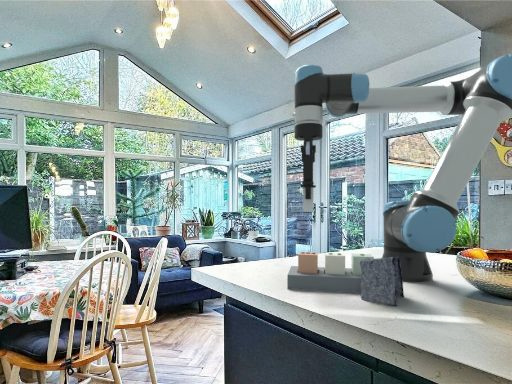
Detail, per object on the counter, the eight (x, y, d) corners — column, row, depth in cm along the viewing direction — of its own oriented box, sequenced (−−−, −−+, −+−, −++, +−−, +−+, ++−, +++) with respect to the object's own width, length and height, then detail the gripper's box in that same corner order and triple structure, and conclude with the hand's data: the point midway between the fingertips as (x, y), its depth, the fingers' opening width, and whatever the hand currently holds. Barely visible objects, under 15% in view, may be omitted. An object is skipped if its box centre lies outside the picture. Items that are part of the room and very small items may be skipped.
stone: (413, 311, 79) (404, 308, 71) (370, 312, 84) (356, 309, 76) (405, 259, 84) (396, 251, 76) (365, 263, 89) (351, 255, 81)
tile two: (343, 271, 94) (343, 252, 94) (345, 275, 89) (345, 255, 89) (325, 270, 95) (325, 251, 95) (325, 274, 90) (325, 254, 90)
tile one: (370, 272, 92) (370, 253, 93) (373, 276, 88) (373, 256, 88) (351, 272, 93) (351, 252, 94) (353, 276, 88) (353, 255, 89)
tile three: (317, 270, 95) (317, 251, 95) (317, 274, 90) (317, 254, 90) (299, 269, 96) (299, 250, 96) (298, 273, 91) (298, 253, 91)
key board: (378, 285, 95) (378, 269, 95) (386, 298, 84) (386, 279, 84) (291, 281, 100) (291, 266, 100) (287, 292, 88) (287, 274, 88)
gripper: (296, 130, 101) (296, 210, 101) (292, 119, 88) (292, 212, 87) (322, 129, 100) (322, 211, 100) (322, 118, 86) (322, 212, 86)
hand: (308, 211), depth 93 cm, fingers closed
